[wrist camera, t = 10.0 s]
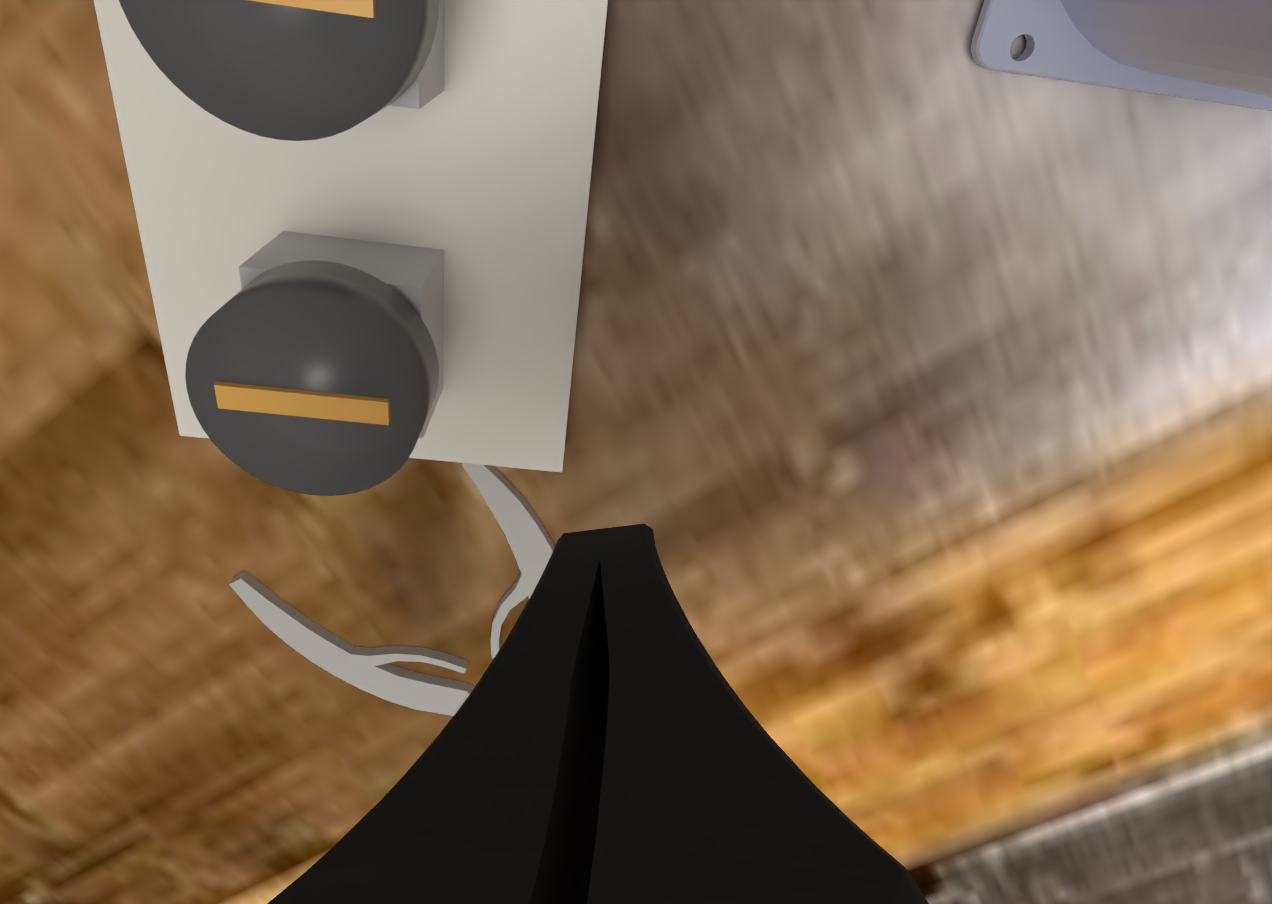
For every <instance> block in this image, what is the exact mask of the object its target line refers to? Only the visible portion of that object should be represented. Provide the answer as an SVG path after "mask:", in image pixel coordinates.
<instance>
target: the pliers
mask: <svg viewBox="0 0 1272 904" xmlns="http://www.w3.org/2000/svg"><path fill="white" fill-rule="evenodd" d="M461 465H462V466H463V468H464V469H465V470H466V472H467V473H468V475H469V476H470V478H471V479H472V481H473V482H474V484H475V485H476V487H477V488H478V490H479V491H480V493H481V495H482V496H483V498H484V500H485V501H486V503H487V505H488V506H489V508H490V510H491V511H492V513H493V515H494V516H495V518H496V520H497V521H498V523H499V525H500V527H501V528H502V530H503V532H504V534H505V536H506V538H507V540H508V542H509V545H510V547H511V549H512V551H513V554H514V556H515V559H516V561H517V563H518V566H519V568H520V571H521V573H520V575H519V577H518V580H517V581H516V582H515V583H514V584H513V586H512V587H511V588H510V589H509V590H508V591H507V593H506V594H505V595H504V596H503V597H502V599H501V601H500V603H499V606H498V608H497V610H496V612H495V614H494V617H493V623H492V632H491V652H492V658H495V656H496V654H497V653H498V651H499V650H500V648H501V646H500V631H501V625H502V623H503V621H504V620H505V618H506V616H507V614H508V613H509V611H510V609H512V608H513V607H514V606H516V605H517V604H518V603H520V602H521V601H522V600H524V599H525V598H526V597H527V596H529V599H530V597H531V595H532V593H533V591H534V589H535V587H536V585H537V583H538V582H539V580H540V578H541V576H542V574H543V572H544V570H545V567H546V565H547V563H548V561H549V559H550V557H551V555H552V552H553V550H554V548H555V547H554V545H553V542H552V540H551V539H550V537H549V535H548V534H547V532H546V530H545V528H544V527H543V525H542V523H541V522H540V520H539V518H538V517H537V515H536V514H535V513H534V511H533V510H532V509H531V507H530V506H529V505H528V503H527V502H526V501H525V499H524V498H523V496H522V495H521V494H520V493H519V492H518V491H517V490H516V489H515V488H514V486H513V485H512V484H511V483H510V482H509V481H508V480H507V479H506V478H505V477H504V476H503V475H502V474H501V473H500V472H499V471H498V470H497V469H496V468H495V467H494V466H491V465H480V464H470V463H461ZM229 585H230V586H231V587H232V588H233V589H234V591H235V592H236V593H237V594H238V595H239V597H240V598H241V599H242V600H243V601H244V602H245V604H246V605H247V606H248V607H249V608H250V609H251V610H252V611H253V612H254V613H255V615H256V616H257V617H258V618H259V619H260V620H261V621H262V622H263V623H264V624H265V625H266V626H267V627H268V628H269V629H270V630H272V631H273V632H274V633H275V634H276V635H277V636H279V637H280V638H281V639H282V640H283V641H285V642H286V643H287V644H288V645H289V646H291V647H292V648H293V649H295V650H296V651H298V652H299V653H300V654H302V655H303V656H304V657H306V658H307V659H309V660H310V661H311V662H313V663H315V664H316V665H318V666H320V667H321V668H323V669H325V670H326V671H328V672H330V673H331V674H333V675H335V676H336V677H338V678H340V679H342V680H344V681H346V682H348V683H350V684H352V685H354V686H355V687H357V688H359V689H362V690H364V691H366V692H368V693H371V694H373V695H375V696H378V697H380V698H382V699H385V700H387V701H390V702H393V703H397V704H400V705H403V706H406V707H409V708H412V709H416V710H422V711H428V712H434V713H440V714H445V715H451V716H454V715H455V714H456V712H457V711H458V710H459V708H460V707H461V706H462V704H463V703H464V702H465V700H466V699H467V697H468V696H469V695H470V693H471V692H472V690H473V689H474V688H475V686H473V685H471V684H470V683H465V682H460V681H456V680H451V679H446V678H441V677H436V676H432V675H427V674H423V673H419V672H415V671H411V670H407V669H403V668H400V667H397V666H395V665H392V664H390V663H391V662H395V661H414V662H425V663H429V664H433V665H438V666H442V667H445V668H448V669H451V670H455V671H458V672H461V673H464V672H465V671H466V670H467V666H468V661H467V660H464V659H461V658H459V657H456V656H453V655H450V654H447V653H444V652H440V651H436V650H432V649H428V648H424V647H411V646H386V647H375V648H369V647H358V646H353V645H351V644H349V643H348V642H346V641H344V640H343V639H341V638H339V637H337V636H336V635H334V634H332V633H331V632H329V631H327V630H326V629H324V628H323V627H321V626H319V625H318V624H316V623H314V622H313V621H311V620H310V619H309V618H307V617H306V616H304V615H303V614H302V613H300V612H299V611H297V610H296V609H295V608H293V607H292V606H291V605H289V604H288V603H286V602H285V601H284V600H282V599H281V598H280V597H278V596H277V595H276V594H274V593H273V592H272V591H270V590H269V589H268V588H266V587H265V586H264V585H263V584H261V583H260V582H259V581H258V580H256V579H255V578H254V577H253V576H251V575H250V574H249V573H248V572H246V571H244V572H242V573H240V574H238V575H236V576H234V578H233V579H232V581H231V583H230V584H229Z"/></svg>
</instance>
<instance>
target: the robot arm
mask: <svg viewBox="0 0 1272 904" xmlns="http://www.w3.org/2000/svg"><path fill="white" fill-rule="evenodd" d="M1022 34H1023V35H1024V36H1025V38H1026V40H1027V44H1026V49H1025V50H1024V52H1023V54H1022V55H1021V56H1019V57H1018V58H1016V59H1012V57H1011V55H1010V46H1011V44H1012V43H1013V41H1014V39H1015V38H1017V37H1018V36H1020V35H1022ZM971 53H972V57H973V59H974V61H975V62H976V63H977V64H978V65H979V66H982V67H984V68H987V69H991V70H998V71H1004V72H1011V73H1018V74H1025V75H1032V76H1038V77H1045V78H1052V79H1059V80H1066V81H1072V82H1079V83H1086V84H1093V85H1100V86H1106V87H1113V88H1120V89H1127V90H1134V91H1140V92H1147V93H1154V94H1161V95H1168V96H1174V97H1181V98H1188V99H1195V100H1202V101H1208V102H1215V103H1222V104H1229V105H1236V106H1243V107H1249V108H1256V109H1263V110H1270V111H1272V0H984V3H983V7H982V10H981V13H980V16H979V19H978V23H977V26H976V29H975V32H974V35H973V39H972V44H971ZM268 904H928V902H927V900H926V899H925V897H924V896H923V894H922V892H921V891H920V889H919V888H918V886H917V884H916V883H915V881H914V880H913V878H912V876H911V875H910V873H909V872H908V870H907V869H906V868H905V867H904V866H902V865H901V864H900V863H899V862H898V861H897V860H896V859H894V858H893V857H892V856H891V855H890V854H889V853H887V852H886V851H885V850H884V849H883V848H882V847H880V846H879V845H878V844H877V843H876V842H875V841H873V840H872V839H871V838H870V837H869V836H868V835H867V834H866V833H865V832H863V831H862V830H861V829H860V828H859V827H858V826H857V825H856V824H855V823H854V822H852V821H851V820H850V819H849V818H848V817H847V816H846V815H845V814H844V813H843V812H842V811H841V810H840V809H839V808H838V807H837V806H836V805H835V804H834V803H833V802H832V801H831V800H830V799H828V798H827V797H826V796H825V795H824V794H823V793H822V792H821V791H820V790H819V789H818V788H817V787H816V786H815V785H814V784H813V783H812V782H811V781H810V780H809V778H808V777H807V776H806V775H805V774H804V773H803V772H802V771H801V770H800V769H799V768H798V766H797V765H796V764H795V763H794V762H793V761H792V760H791V759H790V758H789V757H788V756H787V754H786V753H785V752H784V751H783V750H782V749H781V748H780V747H779V746H778V745H777V744H776V743H775V741H774V740H773V739H772V738H771V737H770V736H769V735H768V734H767V732H766V731H765V730H764V729H763V727H762V726H761V725H760V724H759V723H758V721H757V720H756V719H755V718H754V716H753V715H752V714H751V713H750V711H749V710H748V709H747V708H746V707H745V705H744V704H743V703H742V701H741V700H740V699H739V697H738V696H737V695H736V693H735V692H734V691H733V689H732V688H731V687H730V685H729V684H728V682H727V681H726V680H725V678H724V677H723V675H722V674H721V672H720V671H719V670H718V668H717V667H716V665H715V664H714V662H713V661H712V659H711V657H710V656H709V654H708V653H707V651H706V650H705V648H704V646H703V645H702V643H701V642H700V640H699V638H698V637H697V635H696V633H695V632H694V630H693V628H692V627H691V625H690V623H689V621H688V619H687V618H686V616H685V614H684V612H683V610H682V608H681V606H680V604H679V602H678V600H677V599H676V597H675V595H674V593H673V591H672V588H671V586H670V584H669V582H668V580H667V577H666V575H665V572H664V570H663V568H662V565H661V562H660V560H659V557H658V554H657V550H656V547H655V541H654V534H653V529H652V528H650V527H649V526H647V525H646V524H638V525H630V526H621V527H613V528H605V529H596V530H588V531H580V532H572V533H564V534H563V535H562V536H561V537H560V538H559V539H558V541H557V543H556V545H555V548H554V550H553V552H552V555H551V557H550V559H549V561H548V563H547V565H546V567H545V570H544V572H543V574H542V576H541V578H540V580H539V582H538V583H537V585H536V587H535V589H534V591H533V593H532V595H531V597H530V599H529V601H528V602H527V604H526V606H525V608H524V609H523V611H522V613H521V615H520V616H519V618H518V620H517V622H516V623H515V625H514V627H513V629H512V631H511V632H510V634H509V636H508V637H507V639H506V641H505V642H504V644H503V645H502V647H501V648H500V650H499V651H498V653H497V654H496V656H495V658H494V659H493V661H492V662H491V664H490V665H489V667H488V668H487V670H486V671H485V673H484V674H483V676H482V678H481V679H480V681H479V682H478V683H477V685H476V686H475V688H474V689H473V690H472V692H471V693H470V695H469V696H468V697H467V699H466V700H465V702H464V703H463V704H462V706H461V707H460V708H459V710H458V711H457V712H456V714H455V715H454V716H453V717H452V719H451V720H450V721H449V723H448V724H447V725H446V726H445V728H444V729H443V730H442V731H441V733H440V734H439V735H438V736H437V738H436V739H435V740H434V741H433V742H432V744H431V745H430V746H429V747H428V748H427V749H426V751H425V752H424V753H423V754H422V755H421V756H420V758H419V759H418V760H417V761H416V762H415V763H414V764H413V766H412V767H411V768H410V769H409V770H408V771H407V773H406V774H405V775H404V776H403V777H402V778H401V779H400V780H399V781H398V783H397V784H396V785H395V786H394V787H393V788H392V789H391V790H390V791H389V792H388V793H387V794H386V795H385V796H384V798H383V799H382V800H381V801H380V802H379V803H378V804H377V805H376V806H375V807H374V808H373V809H372V810H371V811H370V812H368V813H367V814H366V815H365V816H364V817H363V818H362V819H361V820H360V821H359V822H358V823H357V824H356V825H355V826H354V827H353V828H352V829H351V830H350V831H349V832H348V833H347V834H346V835H345V836H344V837H343V838H342V839H341V840H340V841H339V842H338V843H337V844H336V845H335V846H334V847H333V848H332V849H331V850H329V851H328V852H327V853H326V854H325V855H324V856H323V857H322V858H321V859H320V860H318V861H317V862H316V863H315V864H314V865H313V866H312V867H311V868H309V869H308V870H307V871H306V872H305V873H304V874H303V875H301V876H300V877H299V878H298V879H297V880H295V881H294V882H293V883H292V884H291V885H289V886H288V887H287V888H286V889H285V890H283V891H282V892H281V893H280V894H279V895H277V896H276V897H275V898H274V899H273V900H271V901H270V902H269V903H268Z"/></svg>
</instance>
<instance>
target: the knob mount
mask: <svg viewBox="0 0 1272 904" xmlns="http://www.w3.org/2000/svg"><path fill="white" fill-rule="evenodd" d="M94 4H95V9H96V14H97V19H98V24H99V29H100V34H101V39H102V44H103V49H104V54H105V59H106V64H107V69H108V75H109V80H110V85H111V90H112V95H113V100H114V105H115V110H116V115H117V120H118V125H119V130H120V135H121V140H122V145H123V151H124V156H125V161H126V166H127V171H128V176H129V181H130V186H131V191H132V196H133V201H134V206H135V211H136V216H137V221H138V227H139V232H140V237H141V242H142V247H143V252H144V257H145V262H146V267H147V272H148V277H149V282H150V287H151V292H152V297H153V302H154V308H155V313H156V318H157V323H158V328H159V333H160V338H161V343H162V348H163V353H164V358H165V363H166V368H167V373H168V378H169V384H170V389H171V394H172V399H173V404H174V409H175V414H176V419H177V424H178V429H179V434H180V436H190V437H200V438H209V437H208V435H207V434H206V433H205V431H204V430H203V429H202V427H201V425H200V423H199V421H198V420H197V418H196V416H195V414H194V411H193V409H192V406H191V404H190V401H189V397H188V393H187V388H186V379H185V371H186V360H187V356H188V351H189V348H190V346H191V343H192V341H193V338H194V337H195V335H196V334H197V332H198V330H199V329H200V327H201V326H202V325H203V324H204V323H205V322H206V321H207V320H208V318H209V317H210V316H212V315H213V314H214V313H215V312H216V311H217V310H218V309H220V308H221V307H222V306H223V305H224V304H225V303H227V302H228V301H229V300H230V299H231V298H232V297H233V296H235V295H236V294H237V293H238V292H239V291H240V290H242V289H243V288H244V287H245V286H246V285H247V284H248V283H250V282H251V281H252V280H253V279H255V278H256V277H257V276H259V275H260V274H262V273H264V272H266V271H268V270H269V269H271V268H274V267H277V266H280V265H282V264H287V263H291V262H296V261H308V260H316V261H329V262H335V263H340V264H344V265H347V266H351V267H354V268H357V269H359V270H362V271H364V272H366V273H369V274H371V275H372V276H374V277H376V278H378V279H380V280H381V281H383V282H385V283H386V284H387V285H389V286H390V287H391V288H393V289H394V290H396V291H397V292H398V293H399V294H400V295H401V296H402V297H403V298H404V299H406V300H407V301H408V303H409V304H410V305H411V306H412V307H413V308H414V309H415V311H416V312H417V313H418V315H419V316H420V317H421V319H422V320H423V322H424V323H425V325H426V327H427V329H428V331H429V333H430V335H431V337H432V340H433V343H434V345H435V348H436V353H437V357H438V364H439V382H438V388H437V393H436V397H435V399H434V401H433V404H432V406H431V409H430V411H429V414H428V416H427V418H426V421H425V423H424V426H423V428H422V430H421V433H420V435H419V438H418V440H417V442H416V445H415V447H414V450H413V451H412V453H411V454H410V456H409V458H418V459H429V460H439V461H449V462H460V463H470V464H480V465H491V466H501V467H512V468H522V469H532V470H543V471H553V472H562V468H563V458H564V449H565V439H566V429H567V418H568V408H569V398H570V387H571V377H572V367H573V356H574V346H575V336H576V326H577V315H578V305H579V295H580V284H581V274H582V264H583V253H584V243H585V233H586V222H587V212H588V202H589V192H590V181H591V171H592V161H593V150H594V140H595V130H596V119H597V109H598V99H599V89H600V78H601V68H602V58H603V47H604V37H605V27H606V16H607V6H608V0H439V15H438V23H437V29H436V34H435V38H434V42H433V45H432V48H431V51H430V54H429V56H428V58H427V60H426V62H425V65H424V67H423V69H422V70H421V72H420V73H419V75H418V76H417V78H416V79H415V81H414V82H413V84H412V85H411V86H410V87H409V88H408V89H407V90H406V91H405V92H404V93H403V95H401V96H400V97H399V98H398V99H396V100H395V101H394V102H393V103H391V104H390V105H389V106H387V107H385V108H384V109H382V110H380V111H379V112H377V113H376V114H374V115H372V116H371V117H369V118H368V119H366V120H364V121H363V122H361V123H359V124H358V125H356V126H354V127H352V128H351V129H349V130H347V131H344V132H341V133H339V134H336V135H334V136H330V137H326V138H321V139H317V140H305V141H289V140H278V139H272V138H267V137H262V136H259V135H256V134H253V133H249V132H246V131H243V130H241V129H239V128H237V127H234V126H232V125H230V124H228V123H226V122H224V121H222V120H220V119H219V118H217V117H215V116H214V115H212V114H210V113H209V112H207V111H205V110H204V109H203V108H201V107H200V106H199V105H197V104H196V103H195V102H193V101H192V100H191V99H189V98H188V97H187V96H186V95H185V94H184V93H183V92H182V91H180V90H179V89H178V88H177V87H176V86H175V85H174V84H173V83H172V82H171V81H170V80H169V79H168V78H167V77H166V76H165V74H164V73H163V72H162V71H161V70H160V69H159V68H158V67H157V65H156V64H155V63H154V61H153V60H152V59H151V57H150V56H149V55H148V53H147V52H146V51H145V49H144V48H143V46H142V45H141V43H140V41H139V40H138V38H137V36H136V35H135V33H134V31H133V30H132V28H131V26H130V24H129V22H128V20H127V18H126V16H125V13H124V11H123V9H122V7H121V5H120V2H119V0H94Z"/></svg>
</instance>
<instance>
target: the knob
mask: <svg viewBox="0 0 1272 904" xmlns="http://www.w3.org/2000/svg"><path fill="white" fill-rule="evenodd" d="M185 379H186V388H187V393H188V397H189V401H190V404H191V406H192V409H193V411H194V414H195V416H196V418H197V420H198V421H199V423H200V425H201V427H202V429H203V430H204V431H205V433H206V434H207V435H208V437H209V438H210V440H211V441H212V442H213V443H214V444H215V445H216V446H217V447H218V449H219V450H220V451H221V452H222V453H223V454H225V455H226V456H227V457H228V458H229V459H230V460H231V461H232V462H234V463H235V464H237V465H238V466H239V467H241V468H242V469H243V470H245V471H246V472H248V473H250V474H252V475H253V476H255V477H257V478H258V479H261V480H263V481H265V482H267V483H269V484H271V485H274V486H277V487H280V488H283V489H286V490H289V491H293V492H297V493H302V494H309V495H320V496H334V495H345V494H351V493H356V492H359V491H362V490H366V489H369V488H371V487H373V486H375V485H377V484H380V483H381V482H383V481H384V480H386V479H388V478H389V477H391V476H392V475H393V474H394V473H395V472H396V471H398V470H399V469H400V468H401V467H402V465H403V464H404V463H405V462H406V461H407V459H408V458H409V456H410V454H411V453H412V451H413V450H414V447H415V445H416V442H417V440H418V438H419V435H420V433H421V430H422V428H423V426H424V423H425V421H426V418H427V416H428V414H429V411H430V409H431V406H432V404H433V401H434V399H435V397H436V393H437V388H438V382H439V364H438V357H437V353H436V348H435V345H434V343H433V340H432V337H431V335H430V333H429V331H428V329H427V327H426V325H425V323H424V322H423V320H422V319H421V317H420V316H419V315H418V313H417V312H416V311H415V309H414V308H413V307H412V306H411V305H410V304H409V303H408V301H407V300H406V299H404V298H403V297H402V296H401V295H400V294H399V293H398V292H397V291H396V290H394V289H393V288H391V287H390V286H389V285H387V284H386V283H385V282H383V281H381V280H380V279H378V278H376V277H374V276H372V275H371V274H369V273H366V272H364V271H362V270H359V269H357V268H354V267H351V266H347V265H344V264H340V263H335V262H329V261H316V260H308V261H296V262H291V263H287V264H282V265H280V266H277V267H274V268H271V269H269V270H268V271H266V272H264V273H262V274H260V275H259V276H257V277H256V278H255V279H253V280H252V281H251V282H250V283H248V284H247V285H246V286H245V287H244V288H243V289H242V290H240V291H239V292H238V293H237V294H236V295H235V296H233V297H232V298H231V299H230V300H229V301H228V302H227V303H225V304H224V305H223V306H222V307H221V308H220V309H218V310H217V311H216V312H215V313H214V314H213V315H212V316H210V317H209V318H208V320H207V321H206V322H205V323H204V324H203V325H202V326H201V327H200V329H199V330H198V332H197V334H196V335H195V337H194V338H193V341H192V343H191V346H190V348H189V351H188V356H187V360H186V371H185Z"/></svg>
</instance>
